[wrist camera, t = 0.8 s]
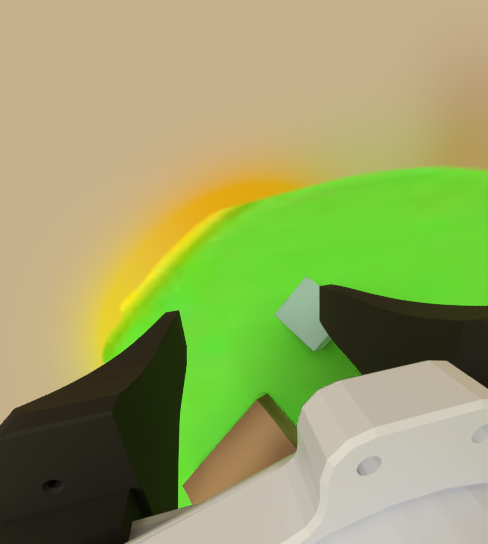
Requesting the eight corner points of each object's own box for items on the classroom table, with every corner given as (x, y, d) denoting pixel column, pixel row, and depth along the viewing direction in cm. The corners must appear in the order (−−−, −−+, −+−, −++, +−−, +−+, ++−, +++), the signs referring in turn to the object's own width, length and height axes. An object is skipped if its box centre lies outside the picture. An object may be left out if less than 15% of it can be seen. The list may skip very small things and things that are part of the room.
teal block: (352, 315, 24) (350, 309, 19) (323, 348, 25) (313, 351, 20) (317, 288, 27) (306, 276, 21) (291, 319, 27) (274, 314, 22)
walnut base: (366, 511, 20) (367, 536, 18) (276, 604, 21) (264, 641, 19) (267, 393, 26) (256, 399, 23) (199, 471, 27) (182, 485, 24)
